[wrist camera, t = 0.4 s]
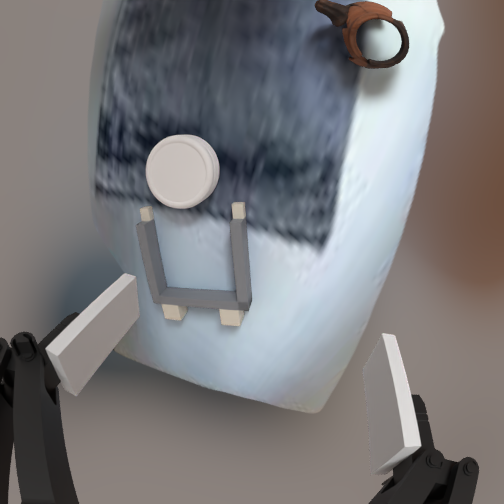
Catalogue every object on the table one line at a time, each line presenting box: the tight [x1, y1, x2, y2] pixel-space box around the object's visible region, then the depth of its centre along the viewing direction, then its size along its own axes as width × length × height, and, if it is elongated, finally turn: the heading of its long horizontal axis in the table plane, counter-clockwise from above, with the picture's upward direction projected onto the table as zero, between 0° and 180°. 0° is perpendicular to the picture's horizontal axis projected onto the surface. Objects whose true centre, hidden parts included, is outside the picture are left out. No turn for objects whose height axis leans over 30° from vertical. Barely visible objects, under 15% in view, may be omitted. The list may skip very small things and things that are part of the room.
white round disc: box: [146, 135, 219, 209], centre depth 37 cm, size 10×10×4 cm
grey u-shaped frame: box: [136, 202, 252, 326], centre depth 42 cm, size 18×16×3 cm
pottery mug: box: [315, 0, 409, 69], centre depth 24 cm, size 12×10×8 cm
